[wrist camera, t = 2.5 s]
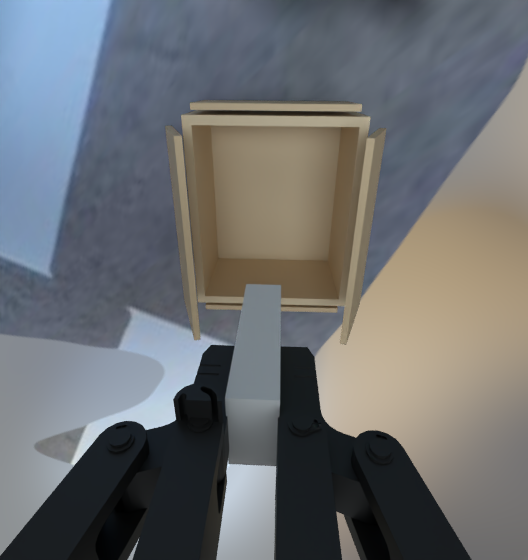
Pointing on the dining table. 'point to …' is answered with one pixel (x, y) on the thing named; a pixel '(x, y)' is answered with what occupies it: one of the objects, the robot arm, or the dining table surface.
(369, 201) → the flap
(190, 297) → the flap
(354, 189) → the carton
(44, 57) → the dining table surface
